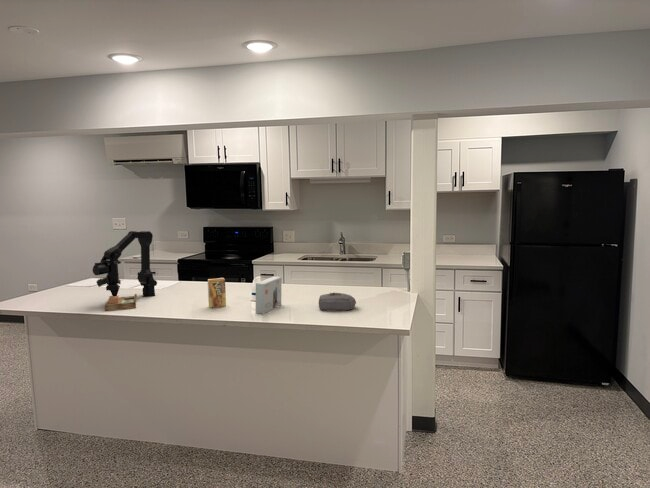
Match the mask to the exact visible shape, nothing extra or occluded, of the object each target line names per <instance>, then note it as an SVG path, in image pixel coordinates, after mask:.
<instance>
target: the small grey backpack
mask: <svg viewBox="0 0 650 488" xmlns="http://www.w3.org/2000/svg"><path fill="white" fill-rule="evenodd" d="M318 298H319V299H318V308H319V310H321V311H326V310H345V311H351V310H354V309H355V308H354V307H356V304H357V301H356V298H355V297H353V296H352V295H351V294H347V293H340V292H330V293H325V294H321V295H320V296H319V297H318ZM353 308H354V309H353ZM350 309H351V310H350Z"/></svg>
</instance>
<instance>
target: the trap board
mask: <svg viewBox="0 0 650 488" xmlns="http://www.w3.org/2000/svg"><path fill="white" fill-rule="evenodd" d="M137 301H138V295H137V293H135V294H134V295H132V296H130V295H129V296H119V303H112V304H109V298H108V300H107V302H106V304H105V305H104V309H105V312H111V311H121V310H133V309H137Z"/></svg>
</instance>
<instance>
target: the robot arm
mask: <svg viewBox="0 0 650 488" xmlns="http://www.w3.org/2000/svg"><path fill="white" fill-rule="evenodd" d="M153 236H154V235H153V232H151V231H148V230H147V231H146V230H141V231H136V230H129V231H128V233H127V234H126V235H125V236H124V237H122V239H121V240H120V241H118V243H117V244H116V245H114V246H112V247H110V248H108V249H106V251H104V253H103V256H102V258H101V259H100V262H94V265H93V266H92V273H93V275H95V276H101V275H106V276H105V277H103V278H99V279H97V280H96V281H95V282H96V285H97V286H98V288H99V287H102V286H104V285H106V286H105V290H106V291H110V293H111V296H118V295H119V294H118V293H119V290H120V288H121V286H120V285H121V282H122V281H121V279H120V278H119V275H120V273H119V264H122V262H121V261H120V260H119V258H120V257H121V256H122V253H123V251H124V250H125V249H126V248H127V247H128V246H129V245H130V244H132V242H133V241H134V240H136V239H137V241H138V243H139V245H140V263H141V264H140V271H139V272H137V280H138V283H139V284H140V285H141V287H142V296H143V297H144V298H145V297H155V296H156V291H155V287H156V286H157V285H158V281H157V280H156V279H154V275H153V273H152V270H151V258H150V256H151V253H150V251H151V249H150V246H151V245H152V242H153Z"/></svg>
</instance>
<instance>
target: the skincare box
mask: <svg viewBox="0 0 650 488" xmlns="http://www.w3.org/2000/svg"><path fill="white" fill-rule="evenodd" d="M282 280H283V279H282V276H275V275H274V276H271V277H269V278H266V279H263V280H260V281H258V282H255V314H262V315H264V314H266V313H268V312H270V311H272V310H274V309H276V308H277V306H278V307H280V306H281V305H282ZM279 305H280V306H279Z"/></svg>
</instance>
